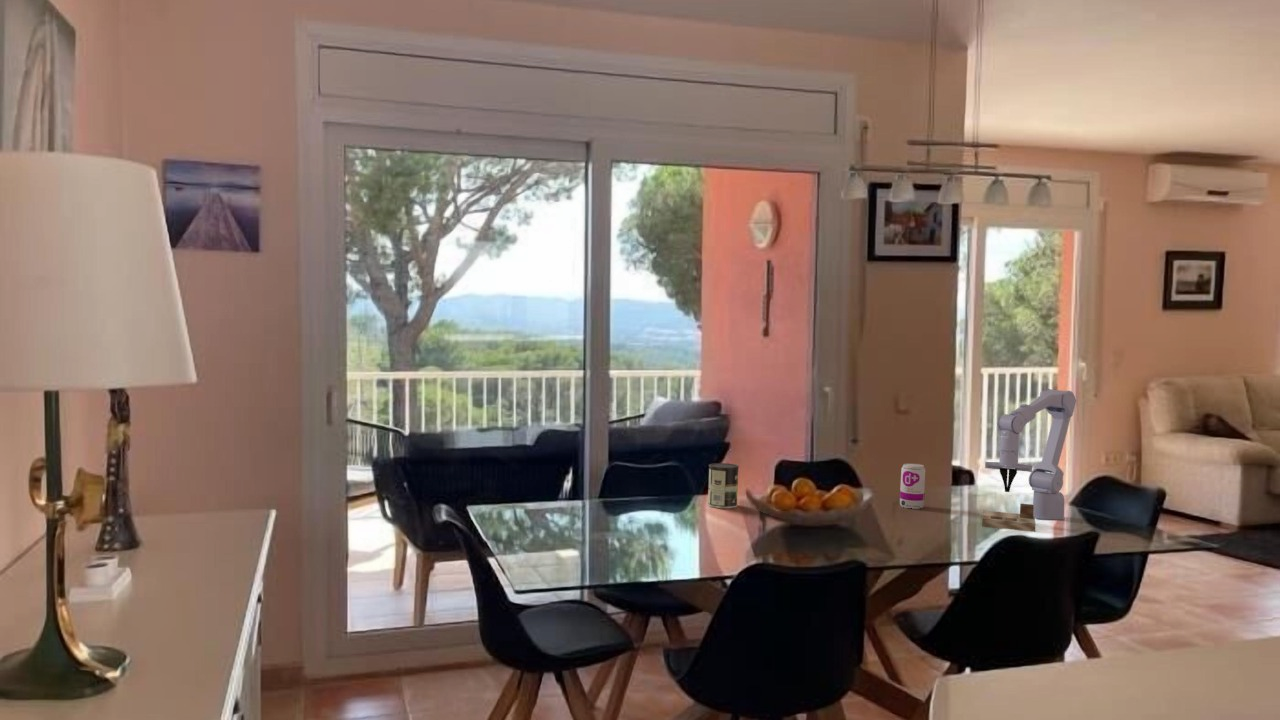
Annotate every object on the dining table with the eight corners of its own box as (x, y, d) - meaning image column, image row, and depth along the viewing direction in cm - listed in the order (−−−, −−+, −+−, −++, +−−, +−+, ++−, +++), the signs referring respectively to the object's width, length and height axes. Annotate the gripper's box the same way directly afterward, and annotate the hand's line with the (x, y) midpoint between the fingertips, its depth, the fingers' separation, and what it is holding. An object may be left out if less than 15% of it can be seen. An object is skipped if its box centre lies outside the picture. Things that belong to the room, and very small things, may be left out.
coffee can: (736, 503, 335) (737, 463, 334) (738, 509, 325) (740, 468, 324) (706, 502, 335) (708, 462, 334) (708, 508, 325) (709, 467, 324)
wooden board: (1033, 522, 318) (1034, 515, 318) (1035, 531, 305) (1035, 523, 305) (982, 517, 323) (983, 510, 323) (982, 526, 310) (982, 518, 310)
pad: (1033, 522, 318) (1034, 515, 318) (1034, 528, 310) (1035, 520, 310) (1017, 521, 320) (1018, 513, 319) (1018, 526, 312) (1018, 518, 312)
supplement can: (918, 510, 332) (920, 467, 331) (896, 507, 337) (897, 465, 336) (927, 507, 338) (929, 465, 338) (904, 503, 343) (906, 462, 342)
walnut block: (1032, 516, 316) (1033, 504, 315) (1033, 519, 312) (1033, 506, 312) (1019, 515, 317) (1020, 503, 317) (1019, 517, 313) (1020, 505, 313)
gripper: (985, 450, 315) (983, 491, 315) (1033, 454, 309) (1031, 495, 310) (986, 447, 321) (984, 487, 322) (1032, 451, 316) (1030, 492, 317)
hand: (1007, 491), depth 316 cm, fingers closed
